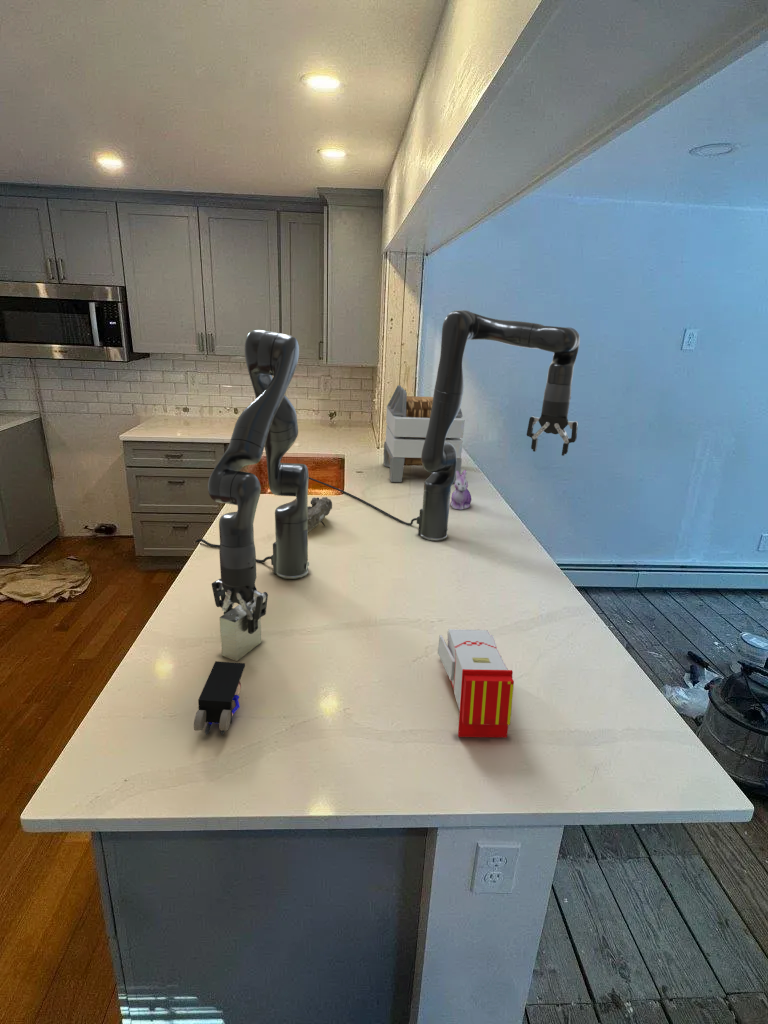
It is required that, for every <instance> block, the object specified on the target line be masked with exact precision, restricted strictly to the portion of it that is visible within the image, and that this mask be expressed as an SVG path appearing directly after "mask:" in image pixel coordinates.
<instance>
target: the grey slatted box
mask: <svg viewBox="0 0 768 1024" xmlns="http://www.w3.org/2000/svg"><path fill="white" fill-rule="evenodd" d="M407 394H408V393H407V390H406V389H404V388H403V387H402V385H399V384H398V385H397V386H396V388H395V390H394V392H393V394H392V395H391V398H390V400H389V402H388V404H387V405H386V413H385V414H386V415H385V423H386V428H385V438H384V442H383V466H384V467H388V468H389V475H388V476H389V477H388V478H389V480H390V482H391V483H402V482H403V475H404V469H405V466H406V467H407V466H411V467H412V466H413V467H415V466H416V467H417V466H418V467H423V465H422V461H421V454H422V449H423V445H424V442H425V438H426V434H427V430H428V426H429V420H430V415H431V410H432V403H433V396H415V395H414V396H413V395H412V396H411V395H407ZM464 429H465V419H464V418H463V411H462V408H461V407H460V410H459V412H458V414H457V416H456V418H455V419H454V421H453V423H452V424H451V426H450V428H449V430H448V432H447V435H446V439H445V442H448V443H450V444H452V445H453V447H454V448H455V451H456V455H457V462H456V470H455V477H454V482H453V484H455V481H456V471H459V473H460V475H462V473H461V472H462V461H463V460H462V453H463V442H464V441H463V440H462V439H463V438H464V431H465V430H464Z"/></svg>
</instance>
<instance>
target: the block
mask: <svg viewBox="0 0 768 1024" xmlns="http://www.w3.org/2000/svg"><path fill="white" fill-rule="evenodd" d="M249 604H250V602H249V603H247V605H249ZM232 608H233V609H232V610H230V611H229V612H227V613H225V614H224V613H223V614H222V615H220V616H219V629H220V630H219V631H220V644H221V645H220V647H221V656H222V657H223V658H227V659H230V660H233V661H235V662H238V661H240V660H241V659H242V658H244V656H246V655H247V654H248V653H250V652H251V651H252V650H254V649H255V648H256V647H257V646H259V645H260V644H261V643H262V642H263V641H262V640H263V637H262V636H263V635H262V617H261V618H260V619H259V620H258V629H257V630H256V631H255V632H254V633H253V634H249V633H248V616H247V614H246V612H245V611H243V609H242V606H241V605H240V604H238V605H236V606H234V607H232ZM251 612H252V613H253V611H252V608H251Z"/></svg>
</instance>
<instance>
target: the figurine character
mask: <svg viewBox="0 0 768 1024" xmlns="http://www.w3.org/2000/svg"><path fill="white" fill-rule="evenodd" d="M245 667H246V662H232V661H217V660H215V661H214V663H213V665H212V668H211V670H210V672H209V674H208V677H207V678H206V681H205V684H204V686H203V688H202V690H201V692H200V695H199V697H198V700H197V701H198V704H197V705H198V710H196V713H195V716H194V721H193V729H194V731H204V733H205V735H206V736H207V735H208V734H210V732H211V727H212V725H213V724H218V725H219V726H218V727H219V730H220V735H221V736H222V735H224V734H225V733H226V731H228V730H229V728H230V725H232V723H233V716H234V714H235V713H236V712H237V711H238V710H239V709H240V707H241V705H240V702H239V699H240V696H239V695H240V693H241V690H242V683H241V678H242V676H243V673H244V670H245ZM233 702H234V704H235V706H234V707H233ZM206 723H207V724H206ZM205 726H206V727H205ZM204 728H205V730H204Z"/></svg>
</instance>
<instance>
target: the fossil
mask: <svg viewBox="0 0 768 1024" xmlns="http://www.w3.org/2000/svg"><path fill="white" fill-rule="evenodd" d="M310 505H311V506H308V533H309V532H311V531H312V530H314V529H315V528H316V527H317V526H318V525H319V524H322V525H323V526H324V527H325V526H326V524H325V523H324V519H325V518H326V517H327V516H329V514H330V512H331V510H332V509H333V501H332V500H331V499H330V498H328V497H327V496H325V497H321V498H320V497H312V498H311V500H310Z"/></svg>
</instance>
